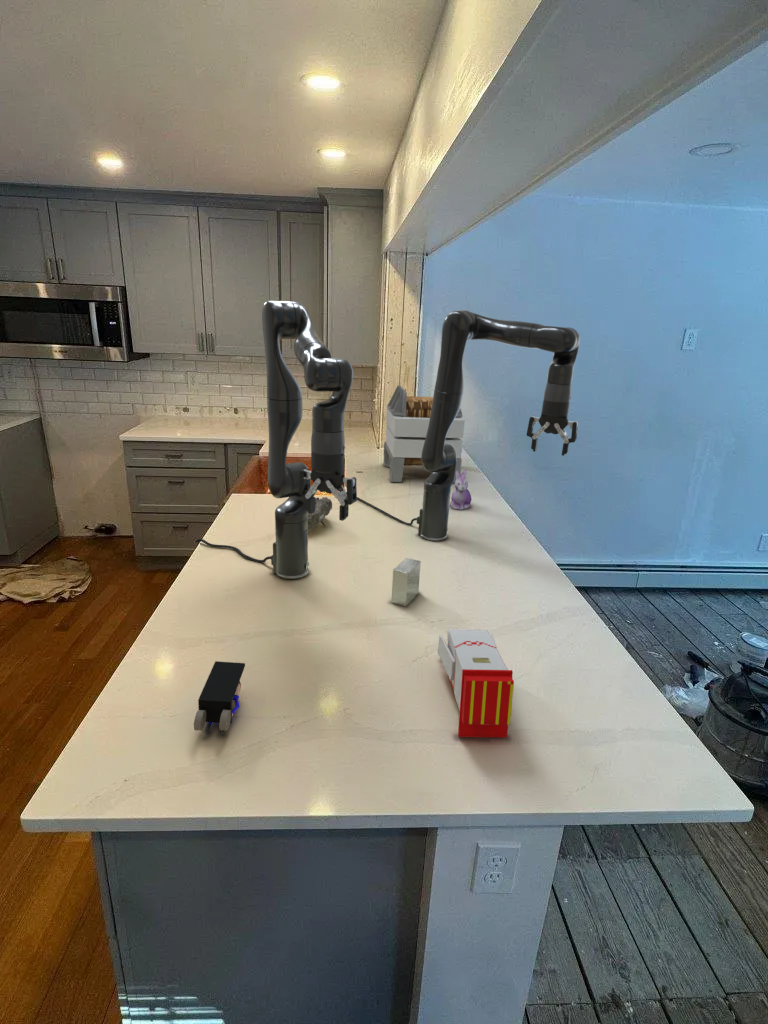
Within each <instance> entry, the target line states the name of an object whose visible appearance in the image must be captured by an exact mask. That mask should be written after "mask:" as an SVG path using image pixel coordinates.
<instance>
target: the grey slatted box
mask: <svg viewBox="0 0 768 1024" xmlns="http://www.w3.org/2000/svg"><path fill="white" fill-rule="evenodd" d="M407 394H408V393H407V390H406V389H404V388H403V387H402V385H399V384H398V385H397V386H396V388H395V390H394V392H393V394H392V395H391V398H390V400H389V402H388V404H387V405H386V413H385V414H386V415H385V423H386V428H385V438H384V442H383V466H384V467H388V468H389V475H388V476H389V477H388V478H389V480H390V482H391V483H402V482H403V475H404V469H405V466H406V467H407V466H411V467H412V466H413V467H415V466H416V467H417V466H418V467H423V465H422V461H421V454H422V449H423V445H424V442H425V438H426V434H427V430H428V426H429V420H430V415H431V410H432V403H433V396H415V395H414V396H413V395H412V396H411V395H407ZM464 429H465V419H464V418H463V411H462V408H461V407H460V410H459V412H458V414H457V416H456V418H455V419H454V421H453V423H452V424H451V426H450V428H449V430H448V432H447V435H446V439H445V442H448V443H450V444H452V445H453V447H454V448H455V451H456V455H457V462H456V470H455V477H454V482H453V484H455V481H456V471H459V473H460V475H462V473H461V472H462V461H463V460H462V453H463V442H464V441H463V440H462V439H463V438H464V431H465V430H464Z"/></svg>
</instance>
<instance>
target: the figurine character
mask: <svg viewBox="0 0 768 1024" xmlns="http://www.w3.org/2000/svg"><path fill="white" fill-rule="evenodd" d="M245 667H246V662H232V661H217V660H215V661H214V663H213V665H212V668H211V670H210V672H209V674H208V677H207V678H206V681H205V684H204V686H203V688H202V690H201V692H200V695H199V697H198V700H197V701H198V704H197V705H198V710H196V713H195V716H194V721H193V729H194V731H204V733H205V735H206V736H207V735H208V734H210V732H211V727H212V725H213V724H218V725H219V726H218V727H219V730H220V735H221V736H222V735H224V734H225V733H226V731H228V730H229V728H230V725H232V723H233V716H234V714H235V713H236V712H237V711H238V710H239V709H240V707H241V705H240V702H239V699H240V696H239V695H240V693H241V690H242V683H241V678H242V676H243V673H244V670H245ZM233 702H234V704H235V706H234V707H233ZM206 723H207V724H206ZM205 726H206V727H205ZM204 728H205V730H204Z"/></svg>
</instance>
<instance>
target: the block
mask: <svg viewBox="0 0 768 1024" xmlns="http://www.w3.org/2000/svg"><path fill="white" fill-rule="evenodd" d="M421 562H422V561H421V560H419V559H418V560H417V559H415V558H414V559H413V558H410V557H405V558H404V559H403V560H402V561H401V562H400V563H399V564H398V565H397V566H396V567H394V568H393V569H392V583H391V585H392V586H391V603H392V604H396V605H399V606H403V607H407V606H408V605H409V604H410V602H412V601H413V599H414V598H415V597H416V596H417V595H418V594H419V591H420V577H421V576H420V575H421Z"/></svg>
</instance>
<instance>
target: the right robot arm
mask: <svg viewBox="0 0 768 1024" xmlns="http://www.w3.org/2000/svg"><path fill="white" fill-rule="evenodd" d="M442 322H443V323H442V327H441V329H442V330H441V342H440V356H439V362H438V367H437V372H436V378H435V379H436V380H435V384H434V389H433V396H432V397H433V403H432V410H431V415H430V420H429V426H428V430H427V434H426V438H425V442H424V445H423V449H422V454H421V461H422V465H423V466H422V467H423V470H425V471H426V472H428V473H430V474H429V476H428V477H427V478H426V479H425V480H424V482H423V493H422V496H423V497H422V506H421V508H420V509H419V516H417V517H413V518H412V519H411V520H410V522H406V521H403V520H402V519H400V518H398V517H396V516H394V515H392V514H390V513H388V512H386V511H385V510H383V509H381V508H379V507H377V506H375V505H374V504H371V503H370V502H367V501H366V500H364V499H362V498H360V497H358V496H357V501H360V502H361V503H364V504H366V505H368V506H369V507H372V508H373V509H375V510H377V511H378V512H380V513H382V514H384V515H386V516H387V517H389V518H392V519H393V520H395V521H398V522H399V523H401V524H403V525H406V526H412V525H413V524H414V522H415V521H416V524H417V525H418V530H417V535H418V536H420V538H421V539H424V540H426V541H432V542H440V541H444V540H446V539H447V538H448V531H449V527H448V525H449V517H450V516H449V514H450V506H451V494H452V493H451V491H452V486H453V485H454V483H453V482H454V477H455V470H456V462H457V455H456V451H455V448H454V447H453V445H452V444H450V443H448V442H445V439H446V435H447V432H448V430H449V428H450V426H451V424H452V423H453V421H454V419H455V418H456V416H457V414H458V412H459V410H460V408H461V406H462V403H463V398H464V393H465V392H464V391H465V376H464V367H463V364H464V363H463V362H464V355H465V350H466V345H467V343H468V341H478V340H479V341H480V340H483V341H484V340H485V341H493V342H497V343H502V344H504V345H507V346H508V345H509V346H513V347H519V348H524V349H531V350H532V349H533V350H540V351H545V352H549V353H553V354H552V360H551V362H550V364H549V366H548V368H547V369H548V370H547V376H546V383H545V388H544V391H543V397H542V398H543V400H542V407H541V413H540V417H537V416H535V415H532V416H530V417H529V420H528V424H527V430H526V436H527V437H529V438H531V446H530V448H531V450H532V452H537V450H538V442H539V436H540V435H542V434H543V432H544V433H545V434H552V435H559V436H560V438H561V439H562V441H563V444H562V448H561V449H562V450H561V456H562V457H565V455H567V453H569V447H570V444H571V443H575V442H576V441H577V437H578V427H579V422H578V420H574V421H570V420H569V419H568V418H569V417H568V416H569V410H570V403H571V399H572V385H573V379H574V378H573V377H574V370H575V369H574V368H575V364H576V360H577V357H578V353H579V349H580V342H581V337H580V333H579V331H578V330H577V329H576V328H574V327H569V326H568V327H567V326H566V327H563V326H551V325H544V324H541V323H537V322H536V323H535V322H528V321H520V320H505V319H497V318H492V317H488V316H484V315H481V314H477V313H475V312H471V311H470V310H467V309H458V310H453V311H450V312H449V313H448V314H446V316H445V318H444V319H443V321H442ZM537 423H539V425H540V428H539V429H538V430H537V431H536V432H535V433H534V427H535V425H536V424H537ZM568 426H569V429H571V435H570V436H571V437H569V435H568V433H567V431H566V430H565V429H566V428H567V427H568ZM311 481H312V479H311ZM338 492H339V490H338ZM346 495H347V491H346Z"/></svg>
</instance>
